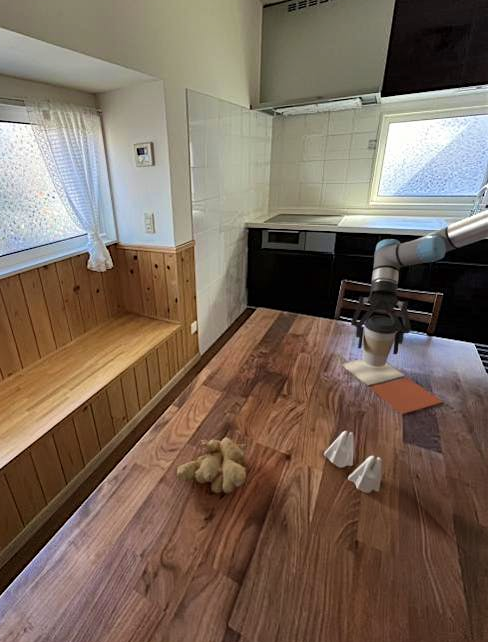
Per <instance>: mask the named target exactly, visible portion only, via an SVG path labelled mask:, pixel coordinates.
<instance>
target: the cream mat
mask: <svg viewBox="0 0 488 642" xmlns="http://www.w3.org/2000/svg"><path fill="white" fill-rule="evenodd" d="M341 366H342V367H343V368H344V369H346V370H347V371H348V372H350V373H351V374H352V376H354V377H356V378H357V379H358V380H359V381H360V382H361V383H363V384H364V385H366V386H367V387H371V386H375V385H379V384H383V383H387V382H390V381H394V380H398V379H402V378H406V377H405V374H403V373H402V372H400V371H399V370H397V369H396V368H394V367H393V366H391V365H390V364H389V363H387V362H386V364H385V365H384V366H381V367H376V366H371V365H369V364H367V363H365V362H364V361H363V359H358V360H353V361H350V362H344V363H341Z"/></svg>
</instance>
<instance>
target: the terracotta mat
mask: <svg viewBox="0 0 488 642" xmlns="http://www.w3.org/2000/svg"><path fill="white" fill-rule="evenodd" d="M369 388H370V390H372V391H373V392H374V393H375V394H376V395H378V396H379V397H380V398H382V399H383V400H384V401H385V402H386V403H388V404H389V405H390V406H391V407H392V408H394V409H395V410H397V412H399V413H400V414H401V415H407V414H409V413H413V412H416V411H421V410H423V409H427V408H430V407H435V406H438V405H441V404H444V401H443V400H442V399H440V398H439V397H437V396H436V395H434V394H432V393H431V392H429V391H428V390H427V389H425V388H424V387H422V386H421V385H419V384H418V383H417V382H415V381H413V380H412V379H411V378H409V377H403V378H399V379H395V380H391V381H387V382H384V383H380V384H376V385H372V386H369Z"/></svg>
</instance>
